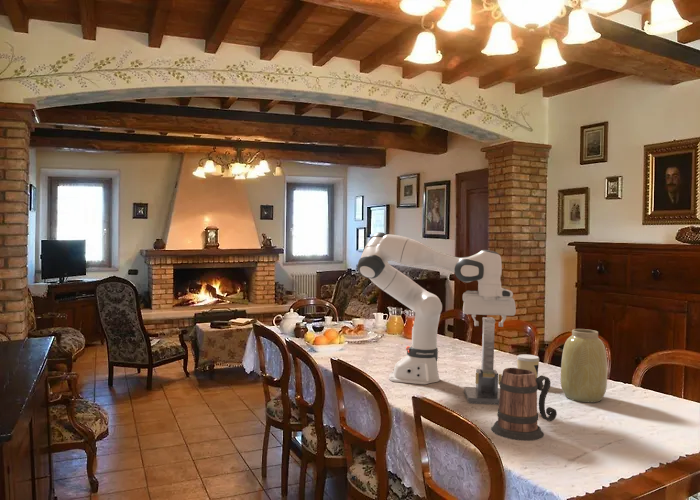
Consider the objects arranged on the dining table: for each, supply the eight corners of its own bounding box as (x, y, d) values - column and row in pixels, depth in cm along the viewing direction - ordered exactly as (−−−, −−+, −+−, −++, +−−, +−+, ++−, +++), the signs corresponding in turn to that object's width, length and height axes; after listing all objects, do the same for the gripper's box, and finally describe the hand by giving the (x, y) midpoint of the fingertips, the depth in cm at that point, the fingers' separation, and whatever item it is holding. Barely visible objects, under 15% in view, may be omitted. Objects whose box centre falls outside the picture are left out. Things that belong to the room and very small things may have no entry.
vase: (604, 394, 232) (606, 329, 231) (608, 406, 216) (611, 336, 215) (559, 389, 238) (561, 326, 237) (560, 401, 221) (562, 332, 221)
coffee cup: (539, 387, 241) (540, 359, 240) (517, 385, 243) (517, 358, 242) (537, 381, 250) (538, 354, 250) (515, 380, 252) (516, 353, 251)
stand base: (468, 403, 216) (469, 375, 216) (464, 391, 232) (464, 365, 232) (511, 405, 215) (511, 377, 214) (503, 393, 231) (504, 367, 230)
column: (483, 378, 220) (484, 319, 220) (481, 374, 226) (482, 317, 226) (493, 378, 220) (495, 319, 219) (491, 375, 226) (492, 317, 225)
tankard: (511, 443, 175) (513, 379, 175) (480, 425, 191) (482, 366, 191) (572, 435, 183) (573, 374, 183) (537, 418, 199) (539, 362, 199)
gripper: (463, 291, 220) (462, 326, 220) (517, 292, 218) (516, 328, 218) (461, 289, 226) (461, 324, 227) (514, 291, 224) (513, 325, 225)
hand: (488, 326), depth 223 cm, fingers open, 8 cm apart
